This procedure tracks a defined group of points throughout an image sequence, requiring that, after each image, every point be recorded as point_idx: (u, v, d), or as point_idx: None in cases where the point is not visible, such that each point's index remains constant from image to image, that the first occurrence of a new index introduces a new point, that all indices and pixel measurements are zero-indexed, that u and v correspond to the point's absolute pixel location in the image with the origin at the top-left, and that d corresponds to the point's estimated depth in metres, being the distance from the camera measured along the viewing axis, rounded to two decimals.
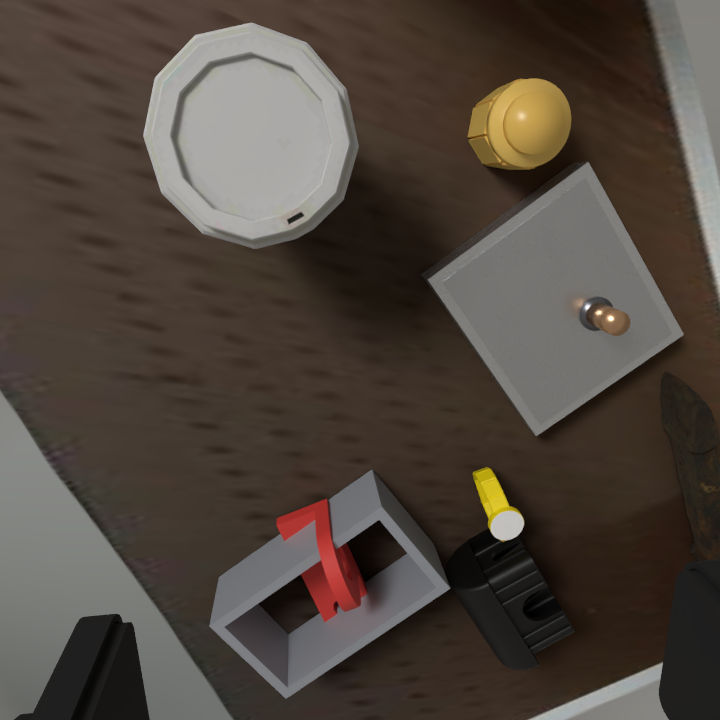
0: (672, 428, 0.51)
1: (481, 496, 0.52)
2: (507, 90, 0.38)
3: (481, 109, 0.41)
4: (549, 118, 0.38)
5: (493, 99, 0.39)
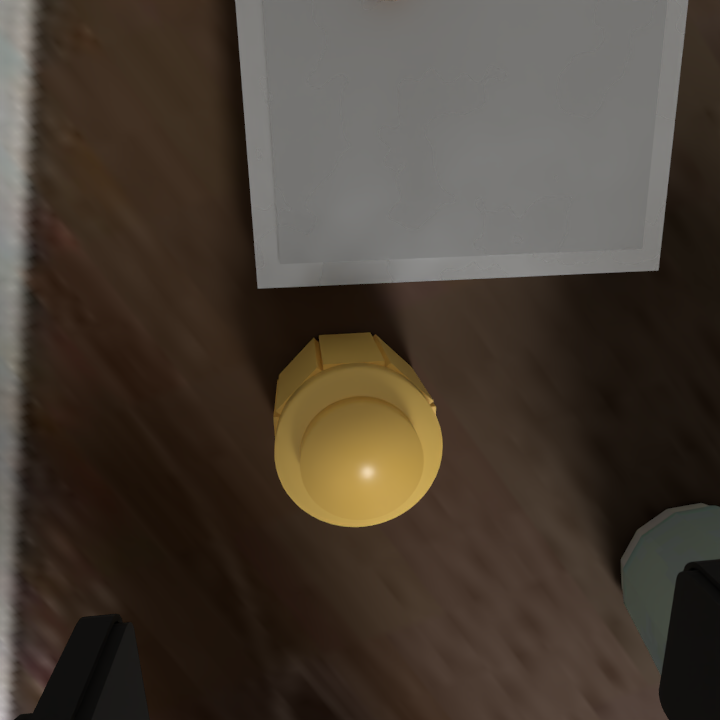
0: None
1: None
2: (369, 523, 0.20)
3: None
4: (335, 458, 0.18)
5: None
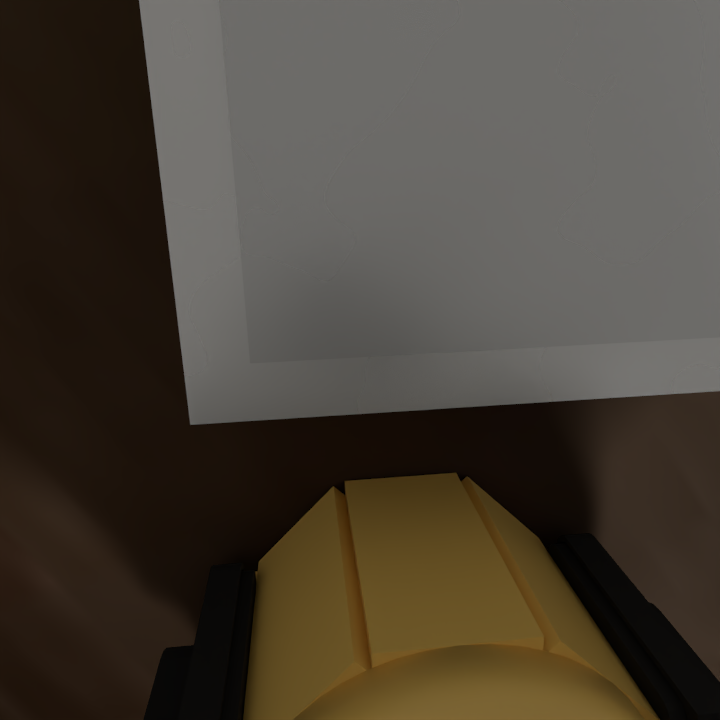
0: None
1: None
2: None
3: None
4: None
5: None
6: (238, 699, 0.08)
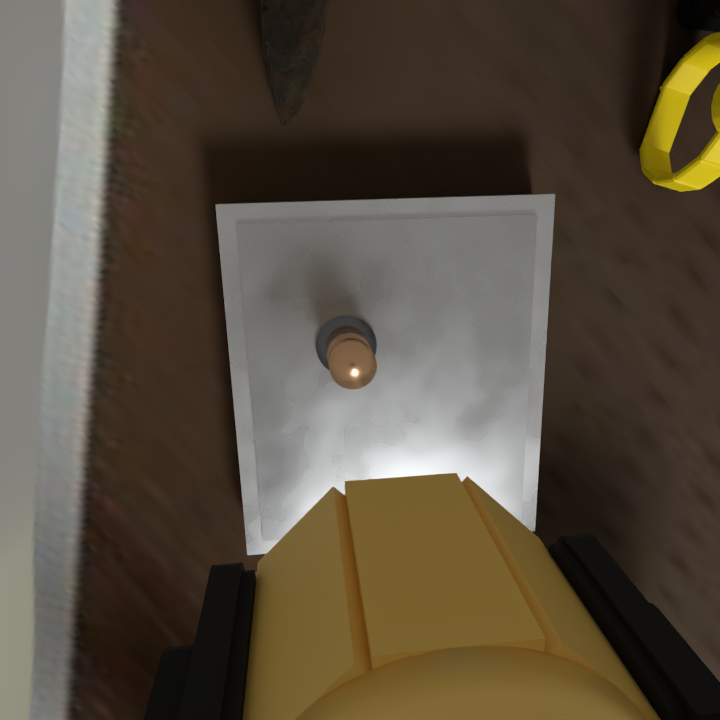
0: None
1: (682, 113, 0.27)
2: None
3: None
4: None
5: None
6: (238, 699, 0.08)
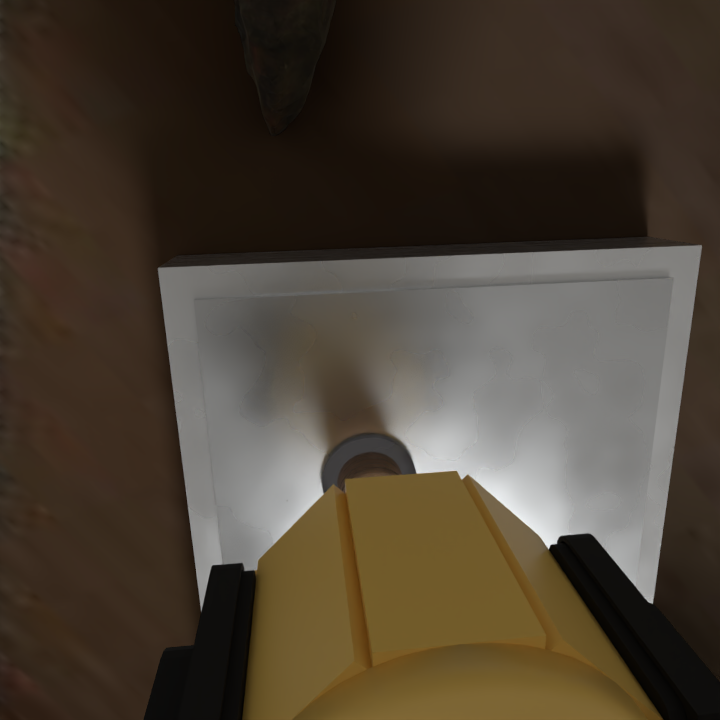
0: None
1: None
2: None
3: None
4: None
5: None
6: (238, 699, 0.08)
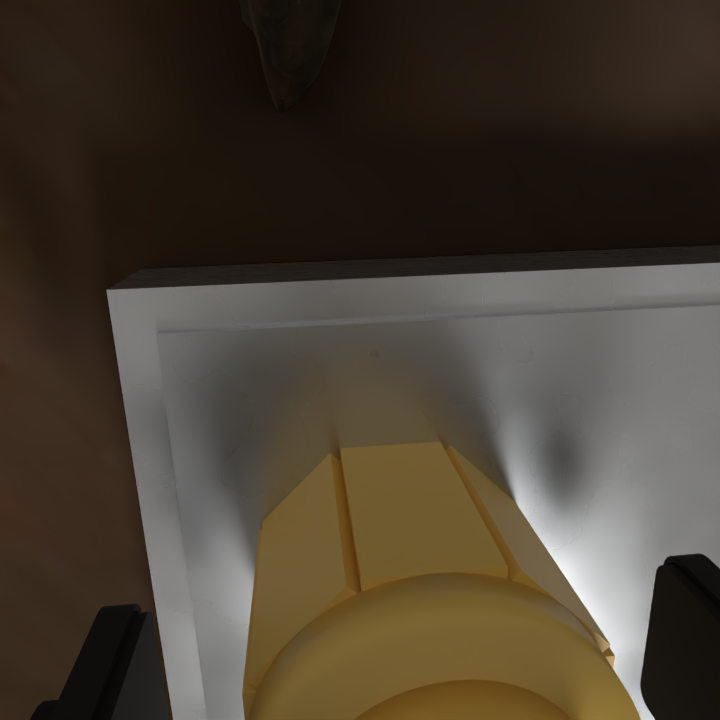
0: None
1: None
2: None
3: None
4: None
5: None
6: None
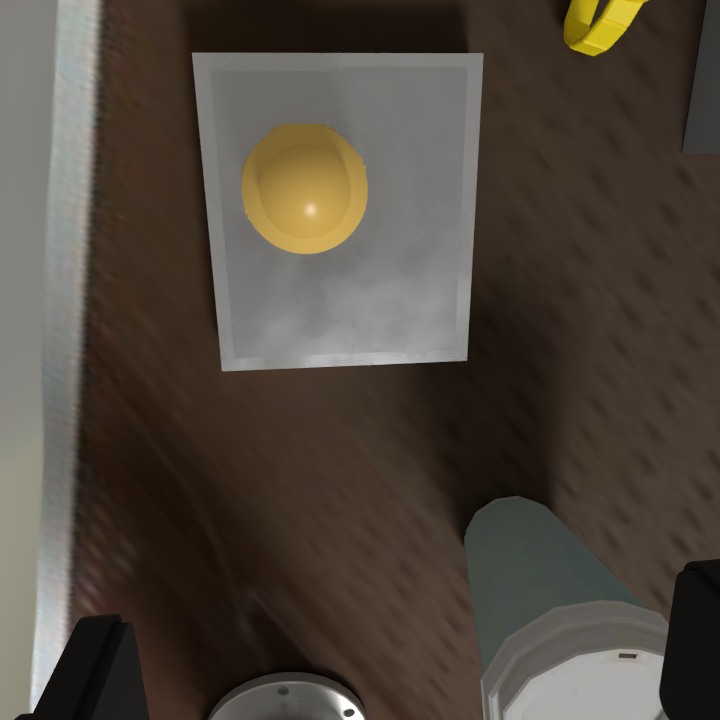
0: None
1: None
2: (313, 251, 0.27)
3: None
4: (285, 185, 0.25)
5: None
6: None
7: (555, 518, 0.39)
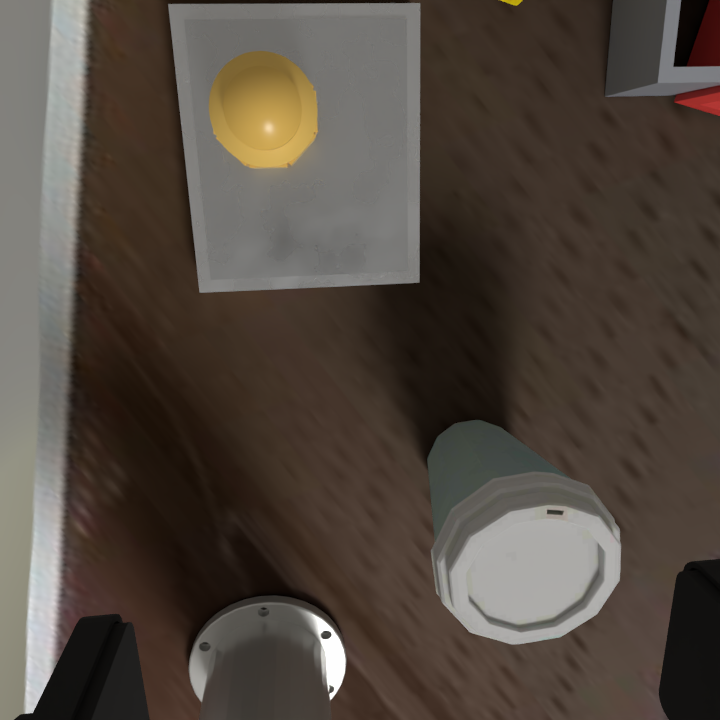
0: None
1: None
2: (272, 165, 0.31)
3: None
4: (245, 102, 0.29)
5: (286, 164, 0.32)
6: None
7: (508, 434, 0.42)
